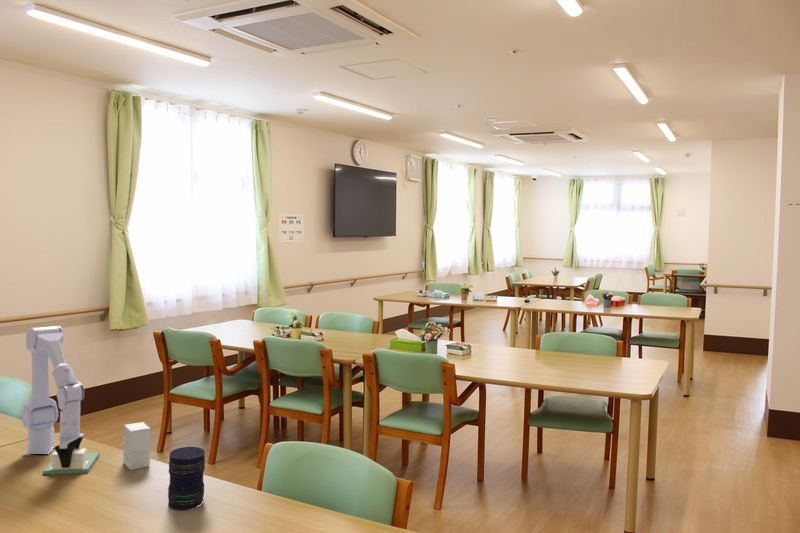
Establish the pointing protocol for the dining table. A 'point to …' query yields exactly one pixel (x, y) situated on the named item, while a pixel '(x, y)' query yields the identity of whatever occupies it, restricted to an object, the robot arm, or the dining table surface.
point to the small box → (136, 445)
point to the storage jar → (186, 478)
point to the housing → (76, 461)
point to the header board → (85, 469)
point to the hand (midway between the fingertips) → (69, 462)
